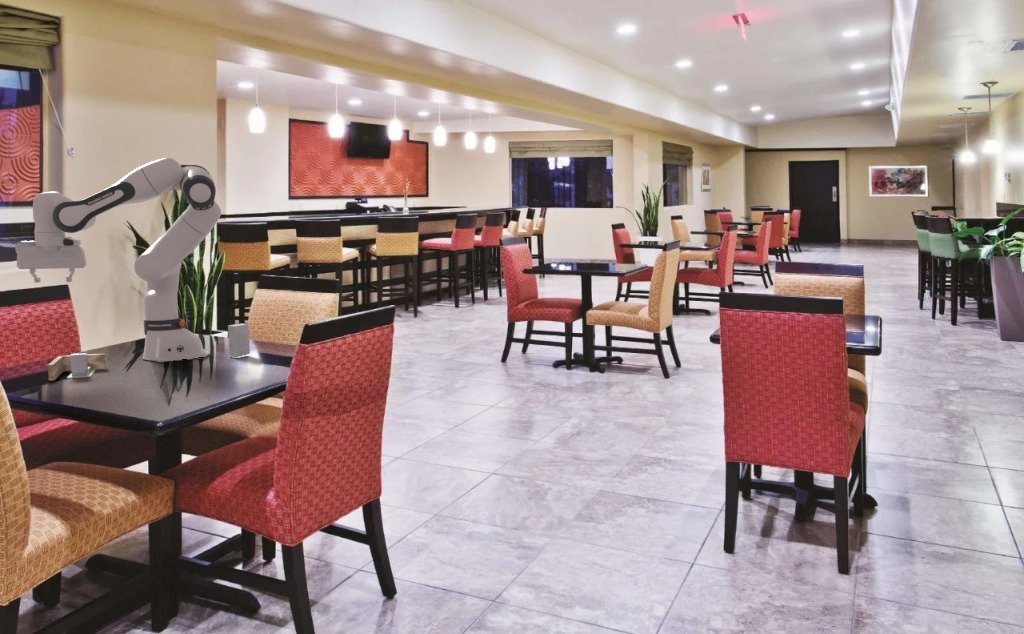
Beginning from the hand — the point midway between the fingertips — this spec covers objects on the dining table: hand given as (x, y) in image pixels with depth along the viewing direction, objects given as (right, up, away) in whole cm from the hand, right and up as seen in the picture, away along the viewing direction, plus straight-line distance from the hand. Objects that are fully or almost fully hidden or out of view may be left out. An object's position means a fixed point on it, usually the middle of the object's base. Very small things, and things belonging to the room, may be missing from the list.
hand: (53, 282), depth 267 cm
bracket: (+13, -30, -7) cm, 34 cm away
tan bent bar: (+12, -31, -7) cm, 34 cm away
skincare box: (+55, -27, +23) cm, 65 cm away
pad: (+13, -30, -7) cm, 34 cm away
